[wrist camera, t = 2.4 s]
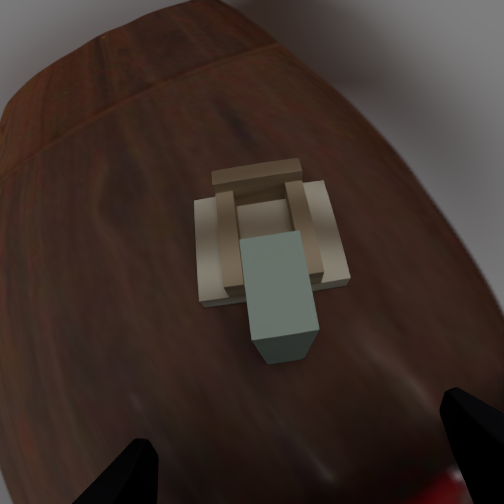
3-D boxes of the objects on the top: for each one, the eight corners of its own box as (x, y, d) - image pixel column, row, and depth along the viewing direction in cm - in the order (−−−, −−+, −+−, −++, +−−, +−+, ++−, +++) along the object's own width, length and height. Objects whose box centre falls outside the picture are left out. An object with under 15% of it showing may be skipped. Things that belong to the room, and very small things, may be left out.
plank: (304, 358, 20) (319, 329, 11) (267, 364, 20) (251, 340, 11) (294, 301, 22) (299, 230, 13) (259, 307, 22) (239, 239, 13)
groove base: (346, 285, 22) (359, 259, 18) (204, 307, 22) (186, 286, 18) (321, 191, 25) (326, 154, 21) (198, 211, 26) (183, 176, 21)
